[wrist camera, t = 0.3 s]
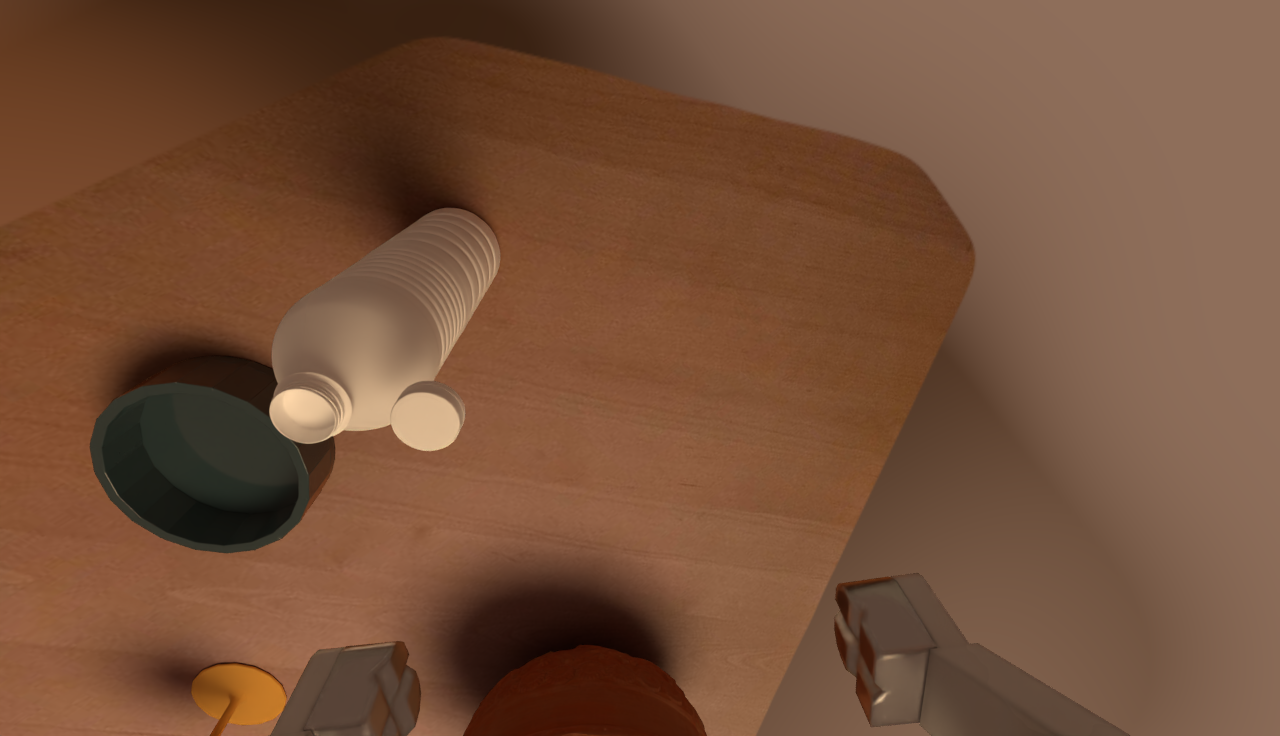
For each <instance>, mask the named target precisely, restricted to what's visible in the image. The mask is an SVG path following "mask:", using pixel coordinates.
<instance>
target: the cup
mask: <svg viewBox="0 0 1280 736" xmlns="http://www.w3.org/2000/svg"><path fill="white" fill-rule="evenodd" d="M191 694H192V696H193V698H194V700H195V702H196V704H197V705H198V706H199V707H200V708H201V709H202V710H203V711H205V712H206V713H207V714H208V715H210V716H212V717H214V718H216V719H219V721H218V723H217V725H216V726H215V728H214V729H213V731H212V733H211V734H210V736H220V735H221V733H222V732H223V730H224V728H225V727H226V725H227V723H232V724H238V725H254V724H261V723H264V722H267V721H269V720H272V719H274V718H276V717H277V716H278V715H279V714H280V713H281V712H282V711H283V710H284V707H285V703H286V699H287V697H286V694H285V691H284V689H283V686H282V685H281V684H280V683H279V682H278V681H277V680H276V679H275V678H274V677H273V676H272V675H271V674H269V673H267V672H265V671H262V670H260V669H258V668H256V667H253V666H248V665H243V664H238V663H232V664H217V665H215V666H212V667H210V668H207V669H205V670H202V671H201V672H200V674H199V675H198V676H197V677H196V678H195V679H194V680H193V683H192V690H191Z"/></svg>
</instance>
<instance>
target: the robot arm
mask: <svg viewBox="0 0 1280 736" xmlns="http://www.w3.org/2000/svg"><path fill="white" fill-rule="evenodd" d="M835 600H836V602H837V604H838V606H839V608H840V611H839V612H838V613H837V614H836V615H835V617H834V621H835V622H834V630H835V636H836V642H837V647H838V650H839V653H840V656H841V659H842V661H843V664H844V666H845V669H846V670H847V671H848V672H850V673H851V674H852V675H854V676H855V677H856V679H857V680H856V694H857V696H858V698H859V701H860V703H861V705H862V708H863V710H864V712H865V714H866V717H867V719H868V721H869V724H870V726H871V727H880V726H889V725H898V724H909V723H918V722H920V726H921V727H923V728H924V729H925V730H926V731H927V732H928V733H929V734H930V735H931V736H1130V735H1129V734H1127V733H1126V732H1124V731H1122V730H1121V729H1119V728H1117V727H1116V726H1114V725H1112V724H1111V723H1109V722H1107V721H1106V720H1104V719H1103V718H1101V717H1099V716H1098V715H1096V714H1094V713H1092V712H1091V711H1089V710H1088V709H1086V708H1084V707H1083V706H1081V705H1079V704H1078V703H1076V702H1074V701H1073V700H1071V699H1069V698H1068V697H1066V696H1064V695H1063V694H1061V693H1059V692H1058V691H1056V690H1054V689H1053V688H1051V687H1050V686H1048V685H1046V684H1045V683H1043V682H1041V681H1040V680H1038V679H1036V678H1034V677H1033V676H1031V675H1029V674H1028V673H1026V672H1025V671H1023V670H1021V669H1020V668H1018V667H1016V666H1015V665H1013V664H1011V663H1010V662H1008V661H1006V660H1005V659H1003V658H1001V657H1000V656H998V655H997V654H995V653H993V652H992V651H990V650H988V649H987V648H985V647H983V646H981V645H980V644H978V643H976V644H969V643H968V641H967V640H966V638H965V637H964V635H963V634H962V633H961V631H960V629H959V628H958V627H957V626H956V624H955V622H954V621H953V619H952V618H951V617H950V615H949V614H948V612H947V611H946V609H945V608H944V606H943V605H942V603H941V602H940V600H939V599H938V598H937V596H936V595H935V593H934V592H933V591H932V589H931V588H930V586H929V584H928V583H927V582H926V580H925V579H924V577H923V576H922V575H920V574H919V573H913V574H905V575H898V576H891V577H882V578H875V579H868V580H861V581H854V582H846V583H839V584H838V585H837V587H836V594H835ZM408 657H409V652H408V650H407V648H406V646H405V643H404V642H401V641H395V642H385V643H375V644H365V645H356V646H346V647H340V648H331V649H322V650H318V651H317V652H316V653H315V654H314V655H313V656H312V657H311V658H310V660H309V662H308V664H307V666H306V668H305V670H304V672H303V674H302V675H301V677H300V679H299V681H298V683H297V685H296V687H295V689H294V691H293V693H292V695H291V697H290V699H289V701H288V702H287V704H286V706H285V708H284V710H283V712H282V714H281V716H280V718H279V720H278V722H277V724H276V726H275V727H274V729H273V731H272V733H271V735H270V736H407V735H408V734H409V733H410V732H411V730H412V729H413V728H414V727H415V725H416V722H417V718H418V714H419V711H420V698H421V690H420V682H419V678H418V676H417V673H416V671H415V670H413V669H412V668H410V667H409V666H407V665H406V663H407V660H408Z"/></svg>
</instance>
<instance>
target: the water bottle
mask: <svg viewBox="0 0 1280 736" xmlns="http://www.w3.org/2000/svg"><path fill="white" fill-rule="evenodd" d="M499 265H500V248H499V244H498V242H497V239H496V236H495V234H494V233H493V231H492V230H491V228H490V227H489V226H488V225H487V224H486V223H485V222H484V221H483V220H482V219H480V218H479V217H478V216H476V215H475V214H473V213H471V212H469V211H466V210H463V209H458V208H442V209H438V210H434V211H432V212H430V213H428V214H426V215H425V216H423V217H422V218H420V219H419V220H418V221H416V222H415V223H413V224H412V225H410V226H409V227H407V228H406V229H404V230H403V231H401V232H400V233H398V234H397V235H395V236H394V237H392V238H391V239H390V240H388V241H386V242H385V243H383V244H382V245H381V246H379V247H378V248H376V249H374V250H373V251H371V252H370V253H368V254H367V255H366V256H365V257H364V258H362V259H361V260H359V261H358V262H356V263H355V264H353V265H352V266H350V267H349V268H347V269H346V270H344V271H343V272H341V273H340V274H338V275H337V276H335V277H334V278H332V279H331V280H330V281H328V282H326V283H325V284H324V285H322V286H320V287H318V288H317V289H315V290H313V291H312V292H310V293H308V294H307V295H306V296H304V297H303V298H301V299H300V300H299V301H298V302H296V303H295V304H294V305H293V306H292V307H291V308H290V309H289V311H288V312H287V313H286V314H285V316H284V317H283V319H282V321H281V322H280V324H279V326H278V328H277V331H276V333H275V337H274V340H273V345H272V365H273V370H274V374H275V377H276V380H277V383H278V385H277V387H276V389H275V391H274V397H273V399H272V401H271V404H270V409H269V413H270V418H271V421H272V423H273V425H274V426H275V427H276V429H277V430H278V431H279V432H280V433H281V434H283V435H284V436H285V437H287V438H289V439H291V440H293V441H296V442H299V443H306V444H312V443H318V442H321V441H324V440H326V439H328V438H329V437H331V436H334V435H336V434H338V433H340V432H341V431H343V430H348V431H364V430H372V429H377V428H381V427H385V426H388V425H390V424H391V425H392V428H393V431H394V432H395V434H396V435H397V436H398V438H399V439H400V440H401V441H403V442H404V443H405V444H407V445H408V446H410V447H413V448H415V449H418V450H424V451H435V450H439V449H443V448H445V447H447V446H449V445H450V444H451V443H452V442H453V441H454V440H455V439H456V438H457V435H458V434H459V432H460V429H461V428H462V425H463V423H464V419H465V406H464V403H463V401H462V399H461V397H460V396H459V395H458V394H457V393H456V391H454V390H453V389H452V388H450V387H449V386H447V385H445V384H443V383H440V382H436V381H434V379H435V377H436V375H437V374H438V372H439V370H440V368H441V367H442V365H443V363H444V361H445V360H446V358H447V357H448V355H449V353H450V351H451V350H452V348H453V346H454V345H455V343H456V341H457V340H458V338H459V336H460V335H461V334H462V332H463V331H464V329H465V327H466V325H467V323H468V321H469V320H470V318H471V317H472V315H473V313H474V311H475V310H476V308H477V307H478V305H479V303H480V301H481V300H482V298H483V296H484V294H485V293H486V291H487V289H488V288H489V286H490V284H491V283H492V281H493V279H494V278H495V276H496V274H497V272H498V268H499Z"/></svg>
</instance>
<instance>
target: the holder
mask: <svg viewBox="0 0 1280 736" xmlns="http://www.w3.org/2000/svg"><path fill="white" fill-rule="evenodd" d="M277 385H278V383H277V380H276V377H275V374H274V370H273V369H271V368H269V367H266V366H264V365H261V364H259V363H256V362H252V361H249V360H245V359H241V358H235V357H229V356H201V357H195V358H190V359H187V360H183V361H180V362H177V363H175V364H173V365H171V366H169V367H167V368H166V369H164V370H162V371H161V372H159V373H157V374H154V375H152V376H151V377H149V378H148V379H146V380H144V381H143V382H141V383H140V384H138V385H136V386H135V387H133V388H131V389H130V390H128V391H127V392H125V393H123V394H122V395H120V396H119V397H117V398H115V399H114V400H113V401H112V402H111V403H110V404H109V406H108V407H107V408H106V409H105V410H104V411H103V412H102V414H101V415H100V416H99V417H98V418H97V419H96V422H95V426H94V430H93V434H92V438H91V442H90V452H91V457H92V463H93V468H94V472H95V475H96V476H97V478H98V480H99V482H100V483H101V485H102V487H103V488H104V490H105V492H106V494H107V495H108V497H109V498H110V500H111V501H112V502H113V503H114V504H115V505H116V506H117V507H118V508H119V509H120V510H121V511H122V512H123V513H124V514H125V515H126V516H128V517H129V518H130V519H131V520H132V521H134V522H135V523H136V524H138V525H140V526H141V527H143V528H145V529H147V530H148V531H150V532H152V533H153V534H155V535H157V536H158V537H160V538H163V539H164V540H167V541H170V542H173V543H176V544H179V545H182V546H185V547H188V548H191V549H195V550H202V551H211V552H219V553H234V552H242V551H250V550H256V549H259V548H261V547H263V546H266V545H268V544H270V543H273V542H275V541H277V540H280V539H282V538H283V537H284V536H285V535H286V534H287V533H288V532H289V531H291V530H292V529H293V528H294V527H295V526H296V525H297V524H298V523H299V522H300V521H301V519H302V518H303V517H304V515H305V514H306V512H307V511H308V509H309V508H310V507H311V505H312V504H313V502H314V501H315V500H316V498H317V497H318V495H319V494H320V492H321V491H322V488H323V487H324V485H325V483H326V482H327V480H328V478H329V477H330V474H331V472H332V469H333V465H334V460H335V446H334V439H333V436H331V437H329V438H328V439H326V440H324V441H321V442H318V443H312V444H306V443H299V442H296V441H293V440H291V439H289V438H287V437H285V436H284V435H283V434H281V433H280V432H279V431H278V430H277V429H276V427H275V426H274V425H273V423H272V421H271V418H270V413H269V409H270V404H271V401H272V399H273V397H274V391H275V389H276V387H277Z"/></svg>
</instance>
